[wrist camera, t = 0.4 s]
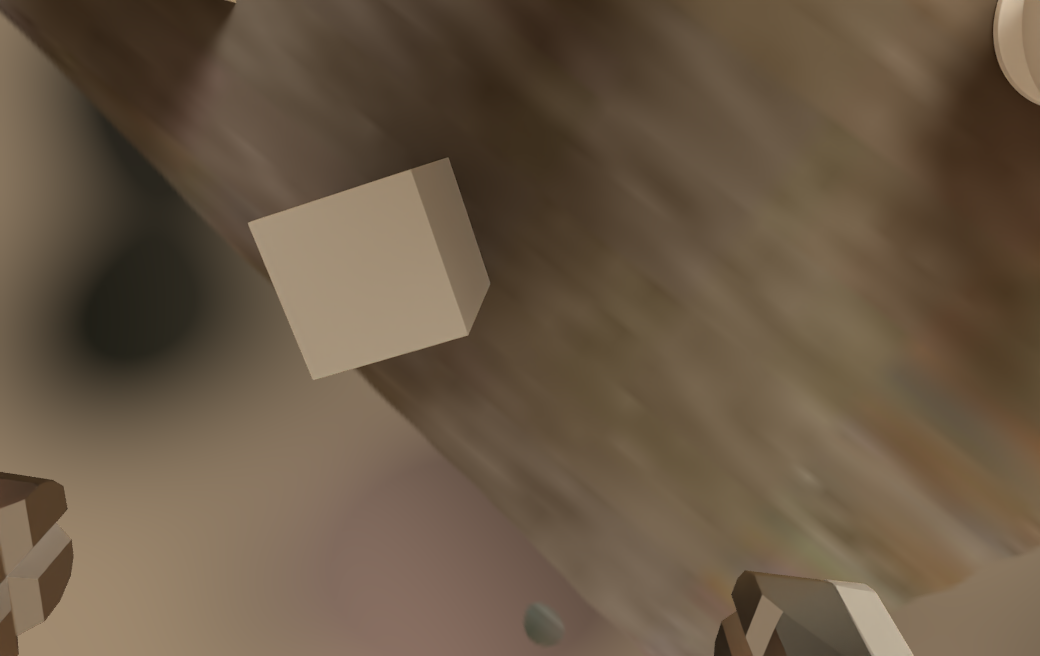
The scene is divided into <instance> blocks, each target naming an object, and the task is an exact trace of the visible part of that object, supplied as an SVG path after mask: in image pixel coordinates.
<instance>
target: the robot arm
mask: <svg viewBox="0 0 1040 656" xmlns="http://www.w3.org/2000/svg"><path fill="white" fill-rule="evenodd" d="M66 510H67V503H66V498H65V493H64V487H63V486H62V485H60V484H59V483H57V482H55V481H54V480H49V479H43V478H36V477H30V476H23V475H17V474H10V473H3V472H0V656H18V654H19V652H18V637H17V636H18V635H20V634H22V633H24V632H26V631H28V630H29V629H31V628H33V627H35V626H37V625H39V624H41V623H43V622H44V621H45V620H46V619H47V617H48V616H49V615H50V613H51V612H52V611H53V609H54V608H55V607H56V605H57V604H58V603H59V602H60V600H61V597H62V595H63V592H64V590H65V588H66V586H67V583H68V581H69V579H70V576H71V570H72V563H73V548H72V540H71V538H70V537H69V536H68V535H67V534H66V533H65V532H64V531H63V529H62V528H61V527H60V526H59V525H58V524H57V523H56V522H57V521H58V519H59V518H60V517H61V516H62V515H63V514H64V513H65V511H66ZM731 595H732V598H733V601H734V604H735V607H736V610H737V611H736V612H734V613H733V614H731V615H730V616H729V617H727V618H726V619H724V620H723V621H721V625H720V628H719V631H718V634H717V637H716V640H715V647H714V656H913V653H912V652H911V650H910V648H909V647H908V645H907V643H906V642H905V640H904V638H903V637H902V635H901V634H900V632H899V630H898V629H897V627H896V625H895V623H894V622H893V620H892V618H891V617H890V615H889V613H888V612H887V610H886V608H885V607H884V605H883V603H882V602H881V600H880V598H879V597H878V595H877V593H876V592H875V591H874V590H873V589H872V588H870V587H869V586H868V585H866V584H862V583H853V582H844V581H835V580H818V579H810V578H802V577H794V576H786V575H778V574H770V573H762V572H754V571H746V570H745V571H744V572H743V573H742V574H741V575H740V576H739V577H738V579H737V581H736V584H735V586H734V589H733V591H732V594H731Z"/></svg>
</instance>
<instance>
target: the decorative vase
mask: <svg viewBox="0 0 1040 656" xmlns="http://www.w3.org/2000/svg"><path fill="white" fill-rule="evenodd" d="M993 40H994V48H995V53H996V57H997V60H998V63H999V65H1000V68H1001V70H1002V72H1003V74H1004V75H1005V77H1006V79H1007V80H1008V81H1009V83H1010V84H1011V85H1012V86H1013V87H1014V89H1015V90H1016V91H1018V92H1019V93H1020V94H1021V95H1022V96H1024V97H1025V98H1026V99H1028V100H1030V101H1031V102H1033V103H1035V104H1037V105H1040V0H998V2H997V6H996V11H995V16H994V24H993Z"/></svg>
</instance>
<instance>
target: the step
mask: <svg viewBox="0 0 1040 656" xmlns="http://www.w3.org/2000/svg"><path fill="white" fill-rule="evenodd" d="M248 225H249V227H250V230H251V232H252V235H253V237H254V239H255V242H256V244H257V247H258V249H259V252H260V254H261V256H262V259H263V261H264V264H265V266H266V268H267V271H268V273H269V276H270V278H271V281H272V283H273V285H274V288H275V290H276V293H277V295H278V297H279V300H280V302H281V305H282V307H283V310H284V312H285V314H286V317H287V319H288V322H289V324H290V326H291V329H292V331H293V334H294V336H295V338H296V341H297V343H298V346H299V348H300V351H301V353H302V355H303V358H304V360H305V363H306V365H307V368H308V370H309V372H310V375H311V377H312V380H316V379H320V378H323V377H327V376H330V375H334V374H337V373H340V372H344V371H347V370H351V369H354V368H358V367H361V366H365V365H368V364H371V363H375V362H378V361H382V360H385V359H389V358H392V357H395V356H399V355H402V354H406V353H409V352H413V351H416V350H419V349H423V348H426V347H430V346H433V345H437V344H440V343H443V342H447V341H450V340H454V339H457V338H461V337H464V336H468V335H469V333H470V330H471V328H472V326H473V323H474V321H475V319H476V316H477V314H478V312H479V309H480V307H481V305H482V302H483V300H484V298H485V295H486V293H487V291H488V288H489V286H490V284H491V283H490V280H489V277H488V274H487V271H486V268H485V265H484V262H483V259H482V256H481V253H480V250H479V247H478V244H477V241H476V238H475V235H474V232H473V229H472V226H471V223H470V220H469V217H468V214H467V211H466V208H465V205H464V202H463V199H462V196H461V193H460V190H459V187H458V184H457V181H456V178H455V175H454V172H453V169H452V166H451V163H450V160H449V157H447V158H444V159H441V160H438V161H435V162H432V163H429V164H425V165H422V166H419V167H416V168H413V169H410V170H407V171H404V172H401V173H398V174H395V175H391V176H388V177H385V178H382V179H379V180H376V181H373V182H370V183H367V184H364V185H361V186H358V187H355V188H352V189H349V190H346V191H343V192H340V193H337V194H333V195H330V196H327V197H324V198H321V199H318V200H315V201H312V202H309V203H306V204H303V205H300V206H297V207H294V208H291V209H288V210H285V211H282V212H279V213H275V214H272V215H269V216H266V217H263V218H260V219H257V220H254V221H251V222H248Z"/></svg>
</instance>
